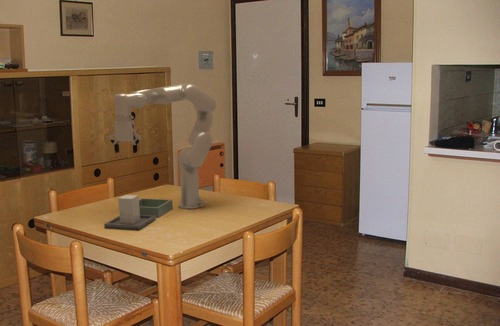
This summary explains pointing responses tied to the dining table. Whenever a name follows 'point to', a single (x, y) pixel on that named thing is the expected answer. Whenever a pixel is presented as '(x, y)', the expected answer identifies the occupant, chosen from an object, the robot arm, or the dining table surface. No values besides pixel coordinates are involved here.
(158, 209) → the green open box
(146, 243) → the dining table surface
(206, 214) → the dining table surface
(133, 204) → the supplement box
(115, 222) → the tray
